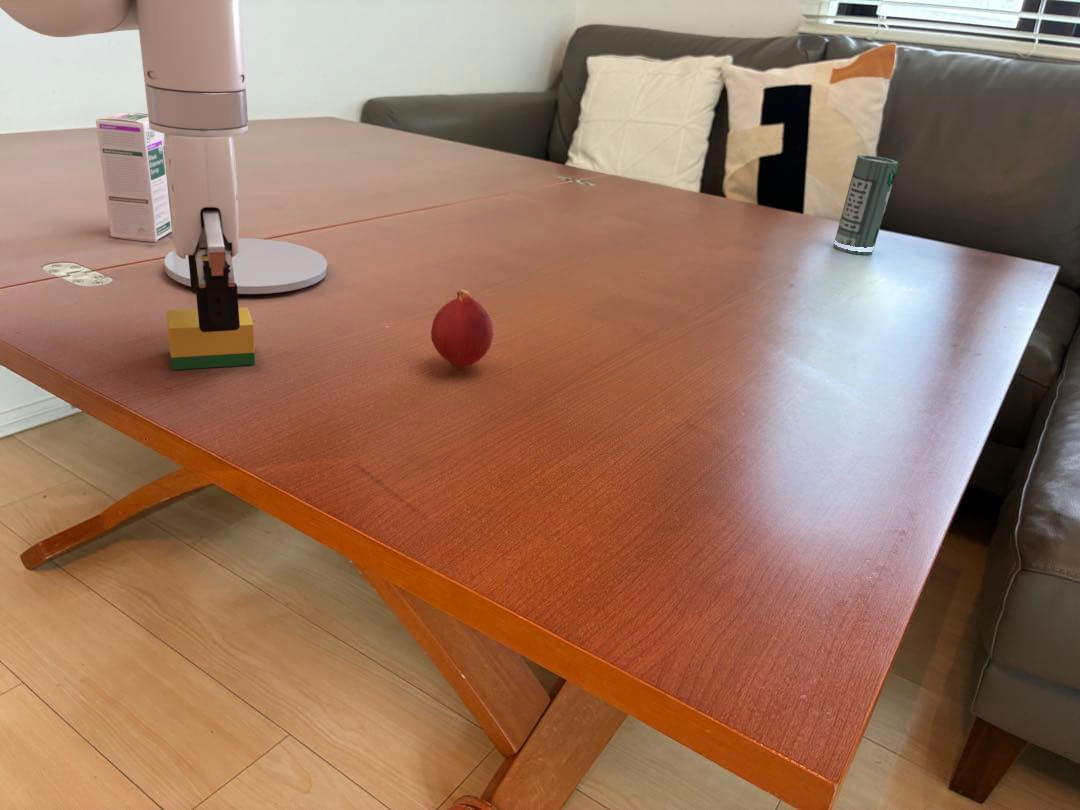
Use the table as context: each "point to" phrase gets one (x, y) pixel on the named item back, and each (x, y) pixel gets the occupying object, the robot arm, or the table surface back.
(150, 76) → the robot arm
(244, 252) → the plate
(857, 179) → the can
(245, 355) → the sponge
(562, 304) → the table surface
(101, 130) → the syrup box
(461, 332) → the onion
